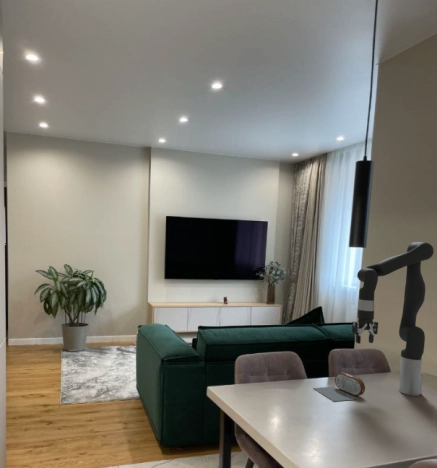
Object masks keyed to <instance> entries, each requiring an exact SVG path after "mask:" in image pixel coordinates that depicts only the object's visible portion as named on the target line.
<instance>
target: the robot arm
mask: <svg viewBox="0 0 437 468" xmlns="http://www.w3.org/2000/svg"><path fill="white" fill-rule="evenodd" d="M434 250H435V249H434V247H433V245H431V243H429V242H424V241H414V242H411V243H409V245H408V246H407V249H406V252H404V253H401V254H399V255H393V256H391V257H388V258H386V259H384V260H381V261H378V262H377V263H374V264H371V265H368V266H365V267H362V268H361V269H359V270H358V272H357V275H356V276H357V279H358V280H359V282H362V283H363V285H362V287H360V288H359V291H358V292H359V293H358V302H357V321H352V328H351V329H352V331H351V332H352V334H354V335H355V343H356V344H361V339H362V338H361V337H362V336H361V335H362V333H364V331H367V333H368V343H369V344H373V343H374V337H375V335H378V329H379V322H378V321H376V320H375V292H376V288H377V286H378V281H379V277H385V276H387V275H390V274H392V273H394V272H396V271H398V270H400V269H402V268H404V267H406V273H405V274H406V275H405V285H404V292H403V293H404V294H403V295H404V296H403V297H404V298H403V306H402V313H401V320H400V324H399V327H398V328H399V329H398V335H399V338H400V339H401V340H402V341H403V342H405V348H404V349H402V350H401V351H400V364H399V365H400V369H399V370H400V371H399V389H398V390H399V391H398V392H400V393H403V394H404V395H408V396H412V397H415V396H416V397H417V396H420V395H422V391H423V390H422V387H423V374H422V358H423V355H424V351H425V345H426V344H425V341H426V335H425V331H424V330H423V329H422V328H421V327H419V326H417V324H416V323H417V316H418V313H419V311H420V309H421V308H422V307H423V304H424V302H425V300H426V299H425V298H426V297H425V296H426V283H425V280H424V277H423V274H422V271H421V268H422V267H421V265H422V262H423V261H427V260H430V259H431V258H432V257H433V255H434ZM374 320H375V321H374Z"/></svg>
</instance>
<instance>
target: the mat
mask: <svg viewBox="0 0 437 468" xmlns="http://www.w3.org/2000/svg"><path fill="white" fill-rule="evenodd" d="M312 389H313V390H314V389H315V391H316V392H317V393H319V394H321V395H322V396H324V397H325V398H327V399H329V400H331V401H332V402H333V403H336V402H349V401H350V402H351V401H356V400H357V399H356V398H355V397H352V396H351V395H349V394H347V392H345V391H342V390H340V389H339V388H338V387H335V386H323V387H322V386H321V387H313V388H312Z"/></svg>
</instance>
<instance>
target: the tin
mask: <svg viewBox="0 0 437 468" xmlns="http://www.w3.org/2000/svg"><path fill="white" fill-rule="evenodd" d="M334 382H335V385H336V388H337V389H339V390H340V391H342V392H344V393H346V394H347V393H348V395H349V394H350V395H352V396H356V397H358V396H362V395H364V393H365V391H366V386H365V383H364V381H363V379H361V378H360V377H358V376H356V375H353V374H350V373H347V372H345V371H342V372H338V373H337V374H336V375H335V379H334Z"/></svg>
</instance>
